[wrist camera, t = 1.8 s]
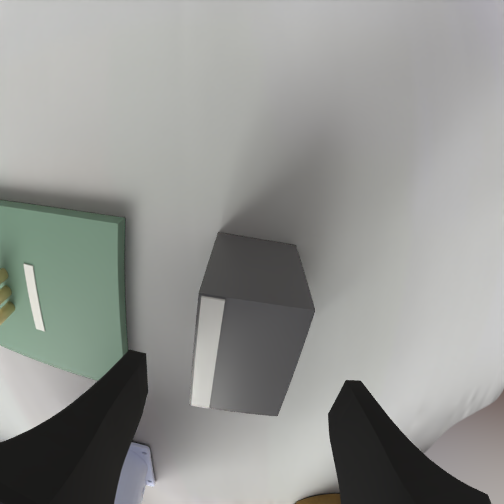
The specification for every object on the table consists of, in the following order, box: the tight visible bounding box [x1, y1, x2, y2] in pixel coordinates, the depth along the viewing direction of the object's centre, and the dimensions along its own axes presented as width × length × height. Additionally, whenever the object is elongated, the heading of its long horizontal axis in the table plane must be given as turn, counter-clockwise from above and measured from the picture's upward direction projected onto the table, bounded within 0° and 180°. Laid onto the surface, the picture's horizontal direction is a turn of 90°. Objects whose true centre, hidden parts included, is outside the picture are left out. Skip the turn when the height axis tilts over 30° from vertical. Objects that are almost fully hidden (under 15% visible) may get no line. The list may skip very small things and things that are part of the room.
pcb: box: [0, 200, 128, 381], centre depth 16 cm, size 12×18×4 cm, turn 80°
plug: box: [189, 232, 315, 416], centre depth 15 cm, size 6×4×6 cm, turn 170°
